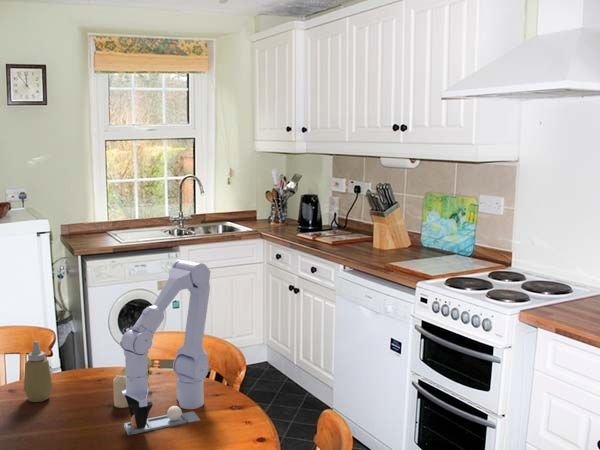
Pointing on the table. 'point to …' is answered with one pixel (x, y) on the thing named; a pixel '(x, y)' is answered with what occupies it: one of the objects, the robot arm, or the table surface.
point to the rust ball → (133, 421)
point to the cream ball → (174, 413)
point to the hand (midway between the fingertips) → (138, 421)
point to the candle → (119, 390)
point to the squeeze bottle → (37, 376)
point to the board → (161, 423)
